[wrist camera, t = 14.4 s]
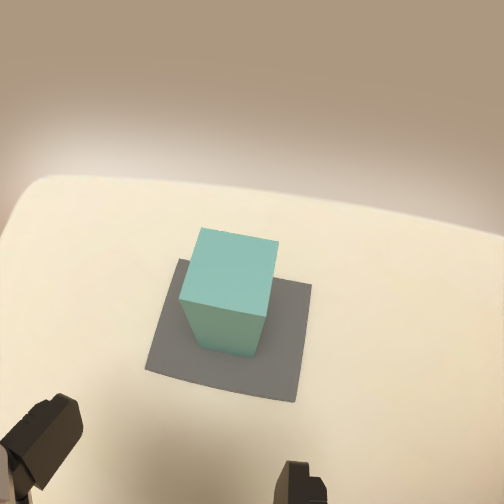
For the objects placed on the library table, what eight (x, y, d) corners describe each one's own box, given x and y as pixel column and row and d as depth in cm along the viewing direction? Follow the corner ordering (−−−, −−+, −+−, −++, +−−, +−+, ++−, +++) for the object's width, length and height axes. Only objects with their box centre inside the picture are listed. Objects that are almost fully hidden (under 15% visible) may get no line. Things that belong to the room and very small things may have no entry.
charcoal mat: (310, 286, 32) (311, 284, 31) (294, 402, 26) (295, 402, 25) (179, 260, 33) (179, 258, 32) (146, 369, 26) (144, 368, 26)
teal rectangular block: (262, 308, 30) (278, 241, 19) (253, 358, 27) (266, 316, 17) (212, 298, 30) (201, 227, 20) (199, 347, 27) (178, 298, 17)
